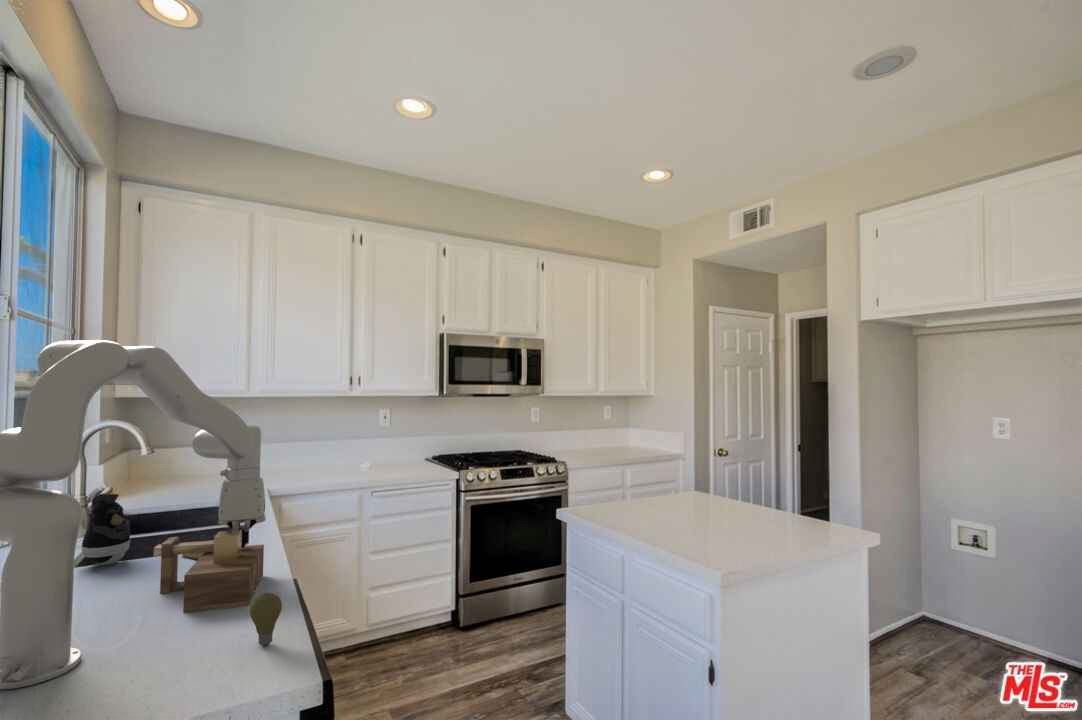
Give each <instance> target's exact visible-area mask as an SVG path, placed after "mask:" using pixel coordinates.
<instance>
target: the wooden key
mask: <svg viewBox="0 0 1082 720" xmlns="http://www.w3.org/2000/svg"><path fill="white" fill-rule="evenodd" d="M161 549H162V543H161V544H160V543H159V544H157V545H155V547H154V548H153V557H161ZM203 552H214V539H212V540H205V541H203V540H202V541H190V542H189V541H186V542H178V543H174V544H173V546H172V555H178V556H179V555H183V554H190V553H203Z"/></svg>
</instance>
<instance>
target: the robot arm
mask: <svg viewBox="0 0 1082 720" xmlns="http://www.w3.org/2000/svg"><path fill="white" fill-rule="evenodd" d="M37 367H38V370H39V372H40V374H41V376H40V377H39V378H38V379H37V381H36V382H35V384H34V385H33V386H32V388H31V390H30V392H29V394H28V396H27V400H26V403H25V408H24V413H23V417H22V422H21V427H20V426H19V427H13V428H9V429H5V430H3V431H1V432H0V542H4V543H5V542H6V543H11V547H10V550H9V551H8V555H7V557H6V558H5V559H6V560H5V561H4V563H3V567H2V572H1V580H0V690H12V689H19V688H20V689H21V688H24V687H29V686H33V685H37V684H40V682H41V683H43V681H44V682H47V681H49V679H50V680H52V679H54V678H57V677H58V676H59V677H60V676H61V675H64V674H65V673H67V672H69V671H71V670H72V669H73V668H75V667H77V665H78V664H79V663H80V662H81V661H82V655H83V654H82V651H81V650H80V649H78V648H75V647H72V624H73V600H74V599H73V598H74V596H73V595H74V578H75V577H74V575H75V574H74V572H75V571H74V570H75V568H74V567H75V556H76V555H75V554H76V548H77V542H78V537H79V534H80V531H81V527H82V523H83V515H84V514H83V513H84V512H83V507H82V505H81V503H80V502H79V500H78V499H77V498H76V497H75V496H73V495H72V494H70V493H67V492H65V491H62V490H56V489H50V488H49V489H47V488H39V484H40V482H49V483H50V482H58V481H61V480H65V479H66V478H68V477H70V476H71V475H72V474H74V472H75V471H76V469H77V468H78V466H79V463H80V460H81V455H82V446H83V436H84V429H85V422H86V421H85V420H86V416H87V411H88V407H89V405H90V402H91V400H92V399H93V397H94V396H95V394H96V393H97V392H98V391H100V390H101V388H103V387H104V386H136V387H138V388H139V389H140V390H141V392H142V393H143V394H145V395H146V396H147V397H148V398H149V399H150V400H151V401H152V403H153V404H155V405H156V407H157V408H158V409H159V410H160V411H161V412H162V413H163V414H164V415H165V416H166V417H168V418H170V419H172V420H175V421H177V422H179V423H182V424H186V425H189V426H192V427H195V428H198V429H201V430H199V431H198V432H197V433H196V434H195V435H194V436H193V439H192V440H191V446H192V449H193V451H194V452H195V454H197V455H198V456H199V457H202V458H207V459H224V460H226V461H227V463H226V464H227V465H226V468H225V469H224V470H220V473H219V475H220V476H221V477H225V480H223V481H222V484H221V489H220V492H219V493H220V496H219V504H218V512H217V513H218V522H217V523H218V525H219V526H226V527H229V528H230V529H231V531H235V530H242V543H241V547H242V548H244V547H245V546H247V544H249V539H250V529H252V527H254V525H257V524H260V523H264V522H265V521H266V513H265V511H266V495H265V494H266V493H265V485H264V479H263V477H261V447H262V444H261V443H262V431H261V428H260V426H256V425H248V424H246V422H245V421H244V420H243V418H241V417H240V416H239V414H238V413H236V412H235V411H234V410H232V408H229V407H228V406H227V405H225V404H223V403H221V402H220V401H218V400H216V399H214V398H213V397H212V396H210V395H208V394H207V393H204V392H203V391H202V390H200V388H199V387H198V386H197V385H196V384H195V382H194V381H193V380H192V379H191V378H190V376H188V375H187V373H186V372H185V371H184V369H182V367H181V366H180V365H179V364H178V362H177V361H175V359H174V358H173V357H172V356H171V355H170V353H168V352H167V351H166V350H165V349H163V348H161V347H157V346H150V345H139V346H137V345H134V346H133V345H132V346H131V345H130V346H127V345H126V346H123V345H122V344H120V343H117V342H115V341H111V340H105V339H103V340H102V339H96V340H95V339H94V340H93V339H87V340H62V341H56V342H52V343H51V344H48V345H47V346H45V348H43V349H42V350H41V351H40V353H39V355H38V357H37ZM242 521H244V526H243V528H242V527H241V522H242ZM46 680H47V681H46Z"/></svg>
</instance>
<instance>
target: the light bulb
mask: <svg viewBox="0 0 1082 720" xmlns="http://www.w3.org/2000/svg"><path fill="white" fill-rule="evenodd" d="M282 609H283V603H282V600H281V598H280V596H279V595H277V594H276V593H273V592H264V593H261V594H259V595H258V596H257V597H255V599H253V601H252V603H250V609H249V614H250V618H251V620H252V622H253V624H254V626H255V631H256V633H257V635H258V642H257V643H258V644H259V645H260V646H262V647H268V646H269V645H270V644H271V643H272V642H273V634H274V630H275V627H276V623H277V621H278V618H279V617H280V616H281V615H280V614H281V613H282Z"/></svg>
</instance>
